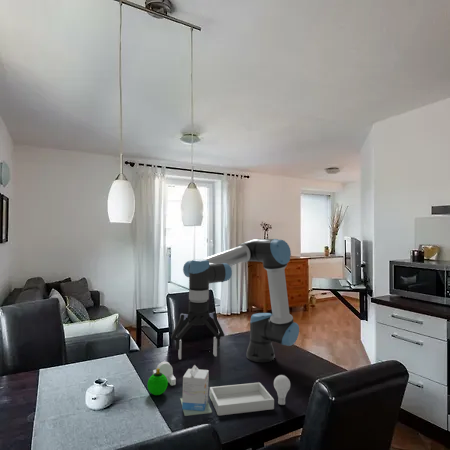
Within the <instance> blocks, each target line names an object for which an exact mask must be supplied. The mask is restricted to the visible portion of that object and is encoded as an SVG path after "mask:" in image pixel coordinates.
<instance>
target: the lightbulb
mask: <svg viewBox="0 0 450 450" xmlns="http://www.w3.org/2000/svg"><path fill="white" fill-rule="evenodd" d="M273 387H274V389H275V391H276V393H277V398H278V399H277V400H278V401H277V403H278V405H280V406H284V405H286V397H287V394H288V392H289V391H290V389H291V381H290V379H289V378H288V377H287V376H286V375H285V374H279V375H277V376H276V377H274V380H273Z"/></svg>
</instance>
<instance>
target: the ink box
mask: <svg viewBox="0 0 450 450" xmlns="http://www.w3.org/2000/svg"><path fill="white" fill-rule="evenodd" d="M209 371H210V370H208V369H199V368H198V367H197V366H196V364H194V365H193V366H192V368H188V369H187V370H186V372H185V373H184V375H183V376H182V397H181V398H182V404H181V407H182V410H183V409H184V410H197V411H204V410H205V407H206V404H207V402H208V403H209V380H210V379H209V376H210V375H209Z"/></svg>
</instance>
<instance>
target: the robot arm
mask: <svg viewBox="0 0 450 450" xmlns="http://www.w3.org/2000/svg"><path fill="white" fill-rule="evenodd" d="M291 252H292V251H291V247H290V245H289V244H288V243H287V242H286V241H285V240H283V239H278V238H256V239H255V238H254V239H251V240H247V241H245V242H242V243H239V244H237V245H236V247H232V248H231V249H227V250H224V251H222V252H220V253H216V254H213V255H210V256H207V257H204V258H200V259H191V260H188V261H185V262H184V265H183V268H182V271H183V274H184V276H185V277H187V278H188V279H189V280H188V281H189V282H188V290H189V291H188V300H189V301H188V312H187V313H183V312H181V313H180V314H179V319H178V321H177V324H176V326H175V327H174V329H173V331H172V333H171V335H170V338H171V340H172V341H175V351H176V350H177V351H178V353H177V354H178V356H177V357H178V360H182V343H183V342H182V338H183V337H184V335H185V334H186V333H188V331H189V330H190V328H192V327H193V326H196V327H197V326H204V325H205V326H206V327H207V328H208V329H209V330H210V331H211V333H212V334H213V335H214V336H213V347H212V348H213V349H212V350H213V352H212V354H213V356H214V357H218V347H220V339H221V338H222V337H225V333H224V331H223V329H222V327H221V323H220V322H219V320H218V316H217V313H216V311H212V312H210V311H209V299H210V298H209V296H210V294H209V293H210V290H209V289H210V284H214V283H216V284H217V283H224V282H227V281H229V280H230V279H231V278H232V274H233V270H232V268H231V267H232V266H235V265H237V264H239V263H248V262H258V263H260V262H261V263H262V265H263V269H264V270H265V271H266V274H267V281H268V282H267V283H268V290H269V299H270V305H271V312H258V313H253V314H251V317H250V322H249V324H250V325H249V344H248V346H247V350H246V359H248V360H249V361H251V362H255V363H270V361H271V362H273V361H275V359H276V358H275V357H276V355H275V350H274V346H273V342H274V343H277V344H280V345H282V346H287V347H291V346H292V345H294V344H295V343H296V342H297V340H298V337H299V333H300V326H299V324H298V323H297V322H295V321H294V317H293V315H292V314H290V306H289V299H288V290H287V281H286V272H285V269H286V267H287V266H288V264H289V262H290V261H291V256H292V253H291ZM186 318H187V319H188V321H187V323H186V324H185V325H184V326H183V327H182V325H183V323H184V321H186ZM209 318H211V319H212V320H213V322H214V324H215V326H216V328H217V330H218V332H217V331H216V330H215V328H214V327H213V326H212V325H211V324H210V323H209V322H208V319H209ZM181 327H182V329H181ZM180 329H181V330H180ZM179 331H180V332H179ZM274 358H275V359H274ZM272 360H273V361H272Z"/></svg>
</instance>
